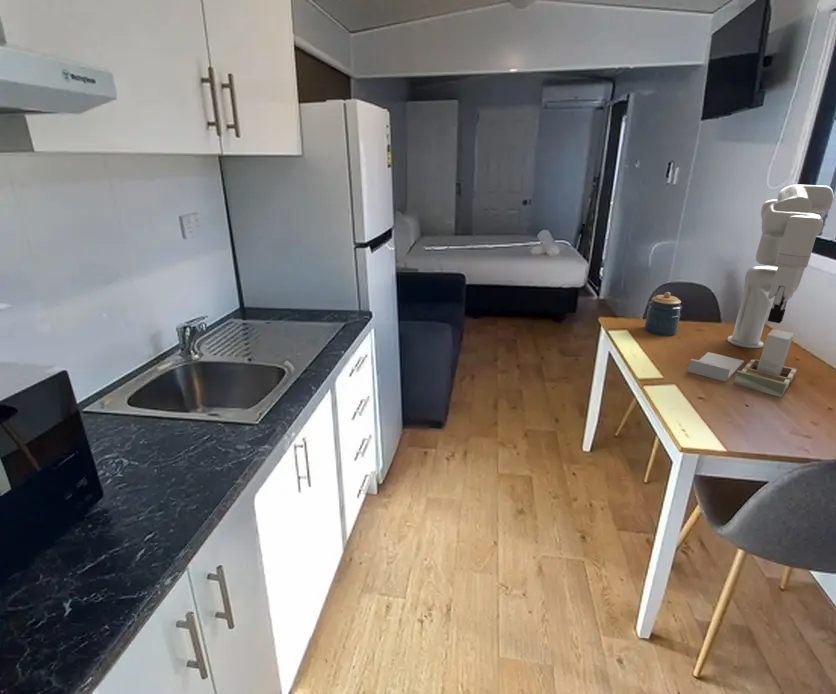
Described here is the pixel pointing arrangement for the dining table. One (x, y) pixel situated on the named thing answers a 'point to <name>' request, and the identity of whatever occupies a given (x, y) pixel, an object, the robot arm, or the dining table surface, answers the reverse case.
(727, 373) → the grey sloped stand
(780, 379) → the divided wooden tray
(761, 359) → the skincare box
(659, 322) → the canister
